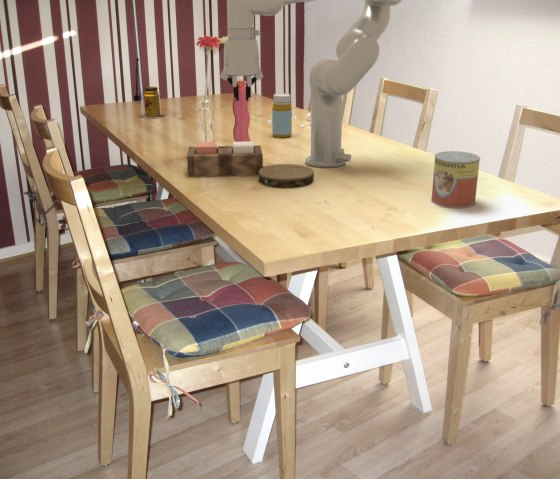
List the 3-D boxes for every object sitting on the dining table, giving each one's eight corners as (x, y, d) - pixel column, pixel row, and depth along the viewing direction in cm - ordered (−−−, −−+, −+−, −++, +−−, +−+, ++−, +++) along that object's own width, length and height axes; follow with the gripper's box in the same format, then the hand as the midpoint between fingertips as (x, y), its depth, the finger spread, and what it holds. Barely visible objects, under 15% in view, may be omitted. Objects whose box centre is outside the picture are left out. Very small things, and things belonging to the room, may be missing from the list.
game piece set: (302, 118, 288) (302, 108, 286) (325, 127, 271) (325, 117, 269) (259, 121, 280) (259, 112, 279) (280, 131, 263) (280, 121, 262)
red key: (216, 158, 212) (216, 142, 210) (216, 163, 206) (216, 146, 204) (197, 158, 211) (196, 142, 210) (196, 163, 206) (195, 147, 204)
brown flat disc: (283, 170, 211) (283, 161, 210) (324, 180, 201) (325, 170, 200) (247, 181, 200) (246, 171, 199) (289, 192, 190) (289, 182, 189)
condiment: (141, 117, 286) (139, 88, 282) (151, 114, 294) (149, 85, 290) (157, 118, 284) (155, 89, 280) (167, 115, 292) (165, 86, 287)
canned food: (422, 201, 182) (426, 156, 178) (446, 192, 189) (450, 149, 185) (460, 211, 174) (464, 164, 170) (483, 201, 182) (488, 156, 177)
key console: (260, 164, 217) (260, 145, 214) (262, 174, 205) (262, 155, 203) (189, 165, 215) (188, 146, 213) (188, 176, 204) (187, 156, 202)
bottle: (292, 134, 257) (292, 93, 251) (290, 138, 250) (290, 96, 245) (273, 133, 257) (273, 93, 252) (271, 138, 251) (271, 96, 245)
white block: (253, 157, 213) (252, 141, 211) (253, 162, 207) (253, 146, 205) (233, 157, 212) (232, 141, 210) (233, 162, 207) (233, 146, 205)
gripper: (268, 33, 201) (268, 97, 207) (212, 33, 199) (214, 98, 206) (270, 35, 194) (270, 102, 200) (212, 36, 192) (214, 102, 199)
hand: (242, 99), depth 203 cm, fingers closed
